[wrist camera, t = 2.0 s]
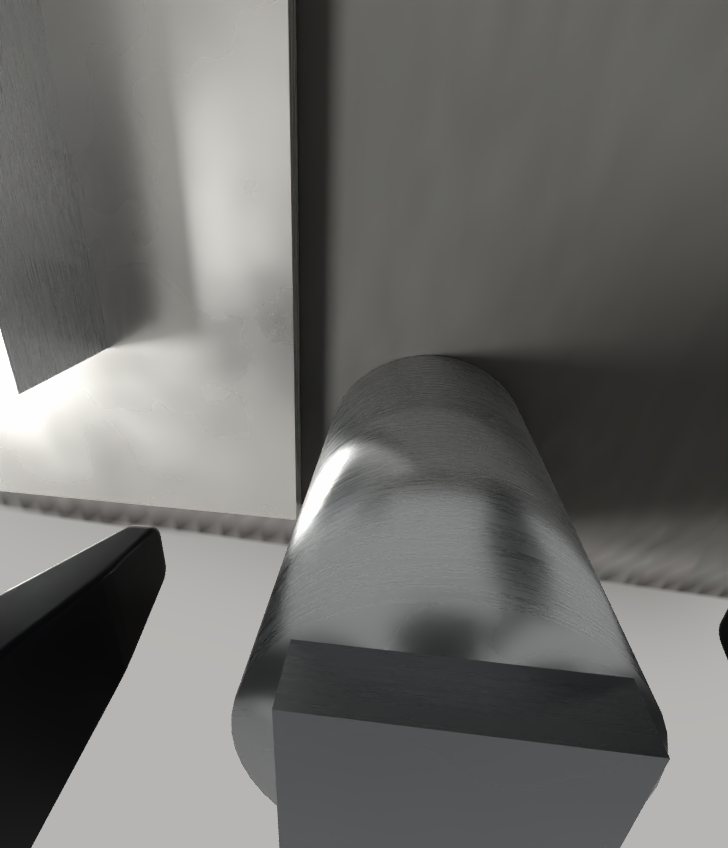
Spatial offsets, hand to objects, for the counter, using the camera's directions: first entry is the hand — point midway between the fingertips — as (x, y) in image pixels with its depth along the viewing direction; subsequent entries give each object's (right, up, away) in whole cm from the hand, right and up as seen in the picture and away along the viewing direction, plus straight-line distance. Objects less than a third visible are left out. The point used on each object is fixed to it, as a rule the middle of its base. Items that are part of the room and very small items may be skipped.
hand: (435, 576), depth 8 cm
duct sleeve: (0, +2, +4) cm, 4 cm away
